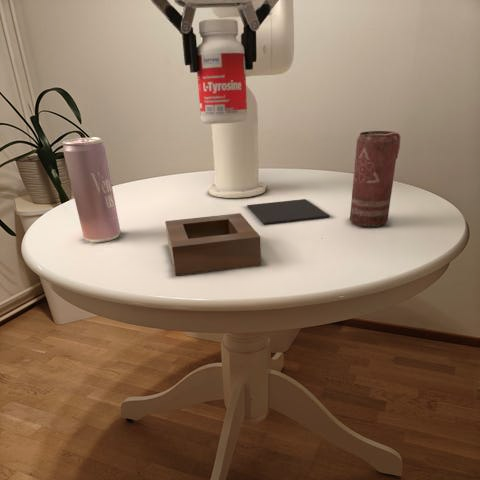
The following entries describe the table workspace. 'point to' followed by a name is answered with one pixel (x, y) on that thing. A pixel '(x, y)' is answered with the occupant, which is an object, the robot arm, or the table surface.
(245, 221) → the holder
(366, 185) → the can
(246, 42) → the robot arm
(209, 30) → the pill bottle
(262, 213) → the coaster
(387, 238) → the table surface
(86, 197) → the beverage can
